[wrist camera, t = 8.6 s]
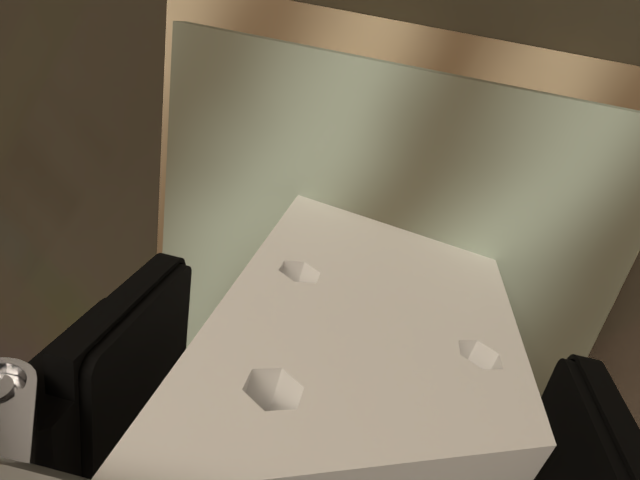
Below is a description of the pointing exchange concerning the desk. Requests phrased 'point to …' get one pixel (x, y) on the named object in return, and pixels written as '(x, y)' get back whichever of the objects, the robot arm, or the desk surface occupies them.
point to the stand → (402, 152)
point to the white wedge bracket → (347, 367)
